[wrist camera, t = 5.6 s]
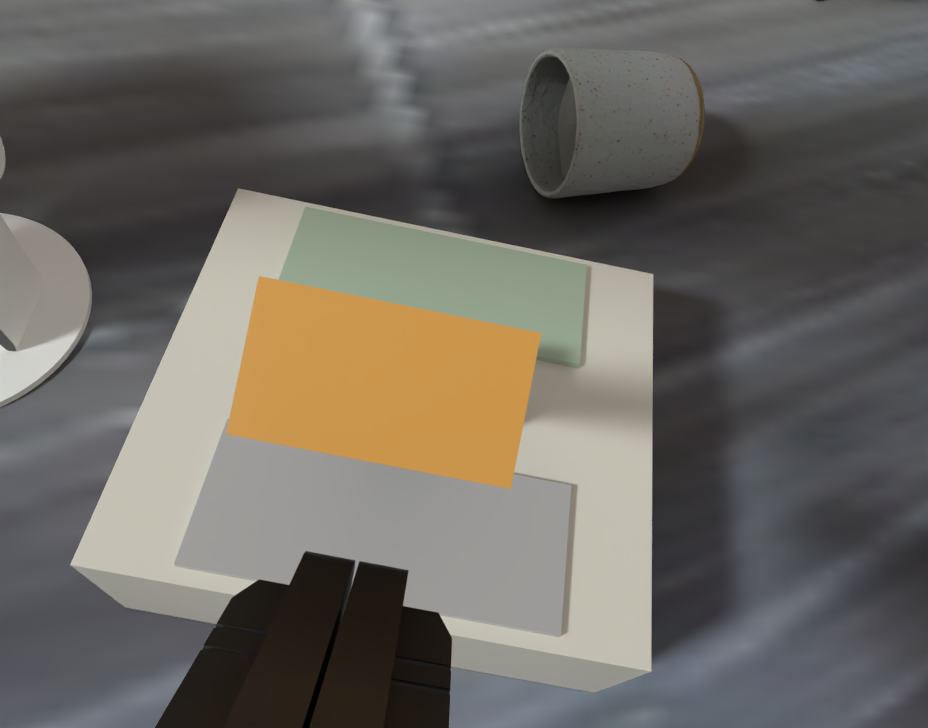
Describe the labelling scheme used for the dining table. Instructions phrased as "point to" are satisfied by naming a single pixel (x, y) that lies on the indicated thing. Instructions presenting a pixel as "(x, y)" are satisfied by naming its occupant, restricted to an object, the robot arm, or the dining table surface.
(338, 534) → the switch box
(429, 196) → the dining table surface
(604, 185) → the ceramic mug
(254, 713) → the robot arm
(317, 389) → the lever
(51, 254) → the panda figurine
